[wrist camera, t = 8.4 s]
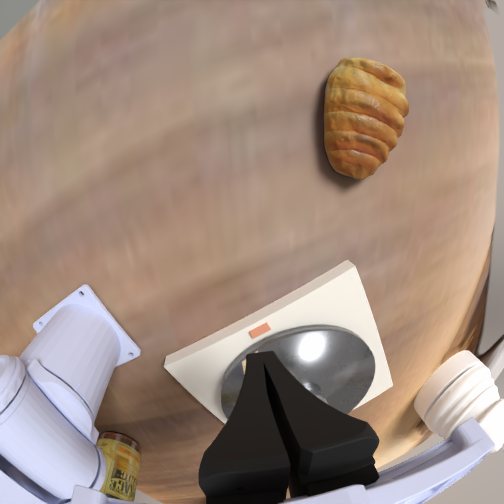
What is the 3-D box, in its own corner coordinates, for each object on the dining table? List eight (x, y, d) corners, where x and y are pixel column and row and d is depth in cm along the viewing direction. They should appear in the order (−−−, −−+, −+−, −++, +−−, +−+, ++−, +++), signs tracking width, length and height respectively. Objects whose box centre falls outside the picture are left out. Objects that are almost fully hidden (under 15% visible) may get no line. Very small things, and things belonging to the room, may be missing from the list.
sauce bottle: (149, 453, 28) (141, 573, 9) (112, 451, 28) (95, 562, 9) (128, 428, 26) (108, 566, 7) (89, 426, 26) (59, 548, 7)
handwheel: (390, 373, 25) (407, 397, 21) (283, 444, 27) (290, 470, 23) (322, 289, 20) (343, 316, 17) (186, 391, 22) (184, 424, 18)
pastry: (375, 188, 21) (402, 194, 17) (302, 162, 20) (320, 162, 16) (396, 90, 18) (423, 82, 15) (328, 56, 17) (348, 40, 13)
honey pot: (481, 339, 30) (548, 401, 13) (457, 393, 34) (506, 453, 17) (427, 367, 29) (499, 454, 12) (404, 421, 33) (452, 497, 16)
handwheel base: (258, 442, 29) (260, 452, 27) (165, 356, 23) (163, 368, 21) (387, 378, 28) (393, 386, 26) (347, 259, 22) (356, 266, 20)
